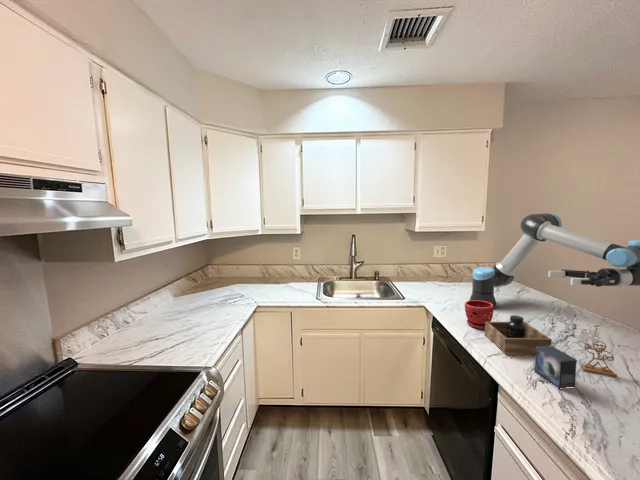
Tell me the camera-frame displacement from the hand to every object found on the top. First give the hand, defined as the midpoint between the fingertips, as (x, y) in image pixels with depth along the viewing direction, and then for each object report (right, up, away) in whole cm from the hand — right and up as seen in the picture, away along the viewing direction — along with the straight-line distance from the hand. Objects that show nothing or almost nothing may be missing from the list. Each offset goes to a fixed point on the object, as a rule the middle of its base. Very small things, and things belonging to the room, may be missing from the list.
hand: (559, 277), depth 125 cm
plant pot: (-22, -29, +24) cm, 44 cm away
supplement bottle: (-18, -30, +2) cm, 35 cm away
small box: (-22, -34, -23) cm, 46 cm away
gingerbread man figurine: (-2, -33, -19) cm, 38 cm away
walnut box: (-18, -31, +3) cm, 35 cm away
